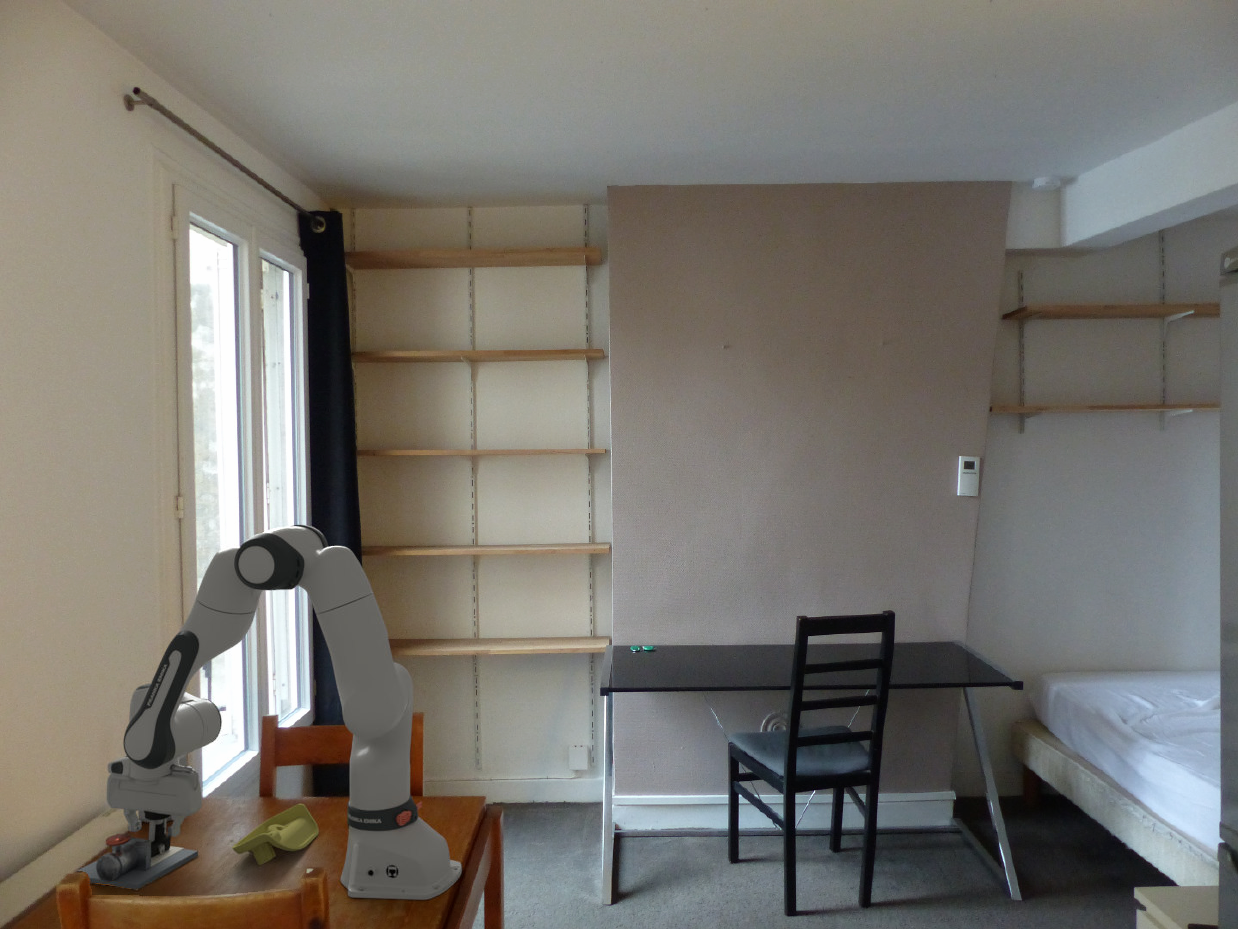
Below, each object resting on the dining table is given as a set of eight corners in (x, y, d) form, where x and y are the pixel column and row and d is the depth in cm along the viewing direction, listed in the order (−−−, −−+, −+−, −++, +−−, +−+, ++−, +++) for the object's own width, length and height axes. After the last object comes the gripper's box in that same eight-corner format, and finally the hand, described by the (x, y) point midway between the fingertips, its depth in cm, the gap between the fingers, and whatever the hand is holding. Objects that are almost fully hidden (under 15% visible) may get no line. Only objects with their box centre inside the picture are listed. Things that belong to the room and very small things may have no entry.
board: (198, 855, 173) (198, 850, 173) (137, 890, 158) (137, 884, 158) (134, 846, 177) (134, 841, 177) (68, 880, 162) (68, 874, 162)
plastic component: (264, 821, 184) (307, 799, 185) (279, 853, 184) (321, 831, 184) (223, 854, 165) (270, 829, 165) (238, 890, 164) (286, 865, 165)
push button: (151, 864, 167) (154, 813, 166) (129, 859, 168) (132, 808, 168) (177, 849, 173) (180, 800, 173) (155, 844, 174) (158, 795, 174)
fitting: (150, 870, 165) (151, 832, 165) (124, 884, 159) (124, 845, 159) (117, 865, 167) (117, 828, 167) (89, 879, 161) (89, 841, 161)
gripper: (209, 762, 171) (209, 832, 171) (126, 754, 177) (126, 821, 177) (185, 772, 165) (185, 845, 165) (100, 764, 171) (100, 834, 170)
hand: (154, 833), depth 171 cm, fingers open, 8 cm apart
